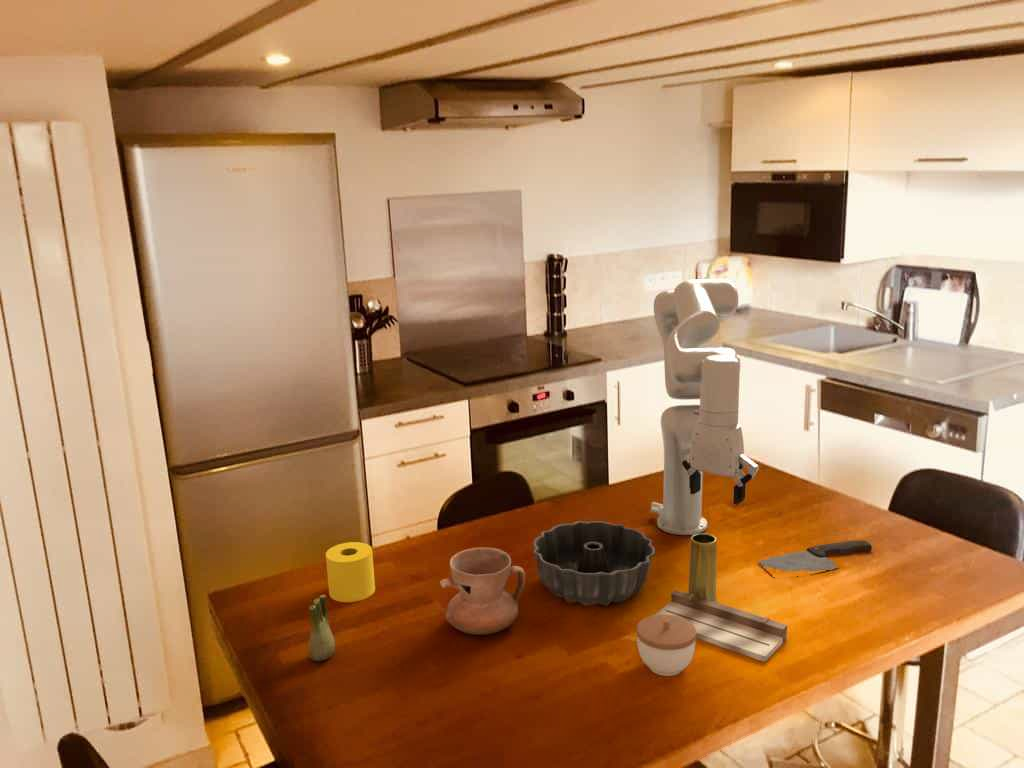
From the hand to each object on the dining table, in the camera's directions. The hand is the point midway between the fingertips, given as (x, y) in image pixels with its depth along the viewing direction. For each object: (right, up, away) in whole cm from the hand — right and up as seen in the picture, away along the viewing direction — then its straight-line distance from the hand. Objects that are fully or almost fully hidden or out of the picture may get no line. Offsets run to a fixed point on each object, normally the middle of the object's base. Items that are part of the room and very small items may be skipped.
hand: (716, 497), depth 176 cm
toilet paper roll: (-77, -23, +14) cm, 82 cm away
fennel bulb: (-78, -29, -11) cm, 84 cm away
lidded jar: (-14, -29, -18) cm, 37 cm away
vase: (-2, -23, +5) cm, 23 cm away
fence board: (-1, -25, -6) cm, 26 cm away
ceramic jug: (-47, -26, -1) cm, 54 cm away
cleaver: (+29, -18, +22) cm, 40 cm away
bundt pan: (-24, -22, +13) cm, 35 cm away
